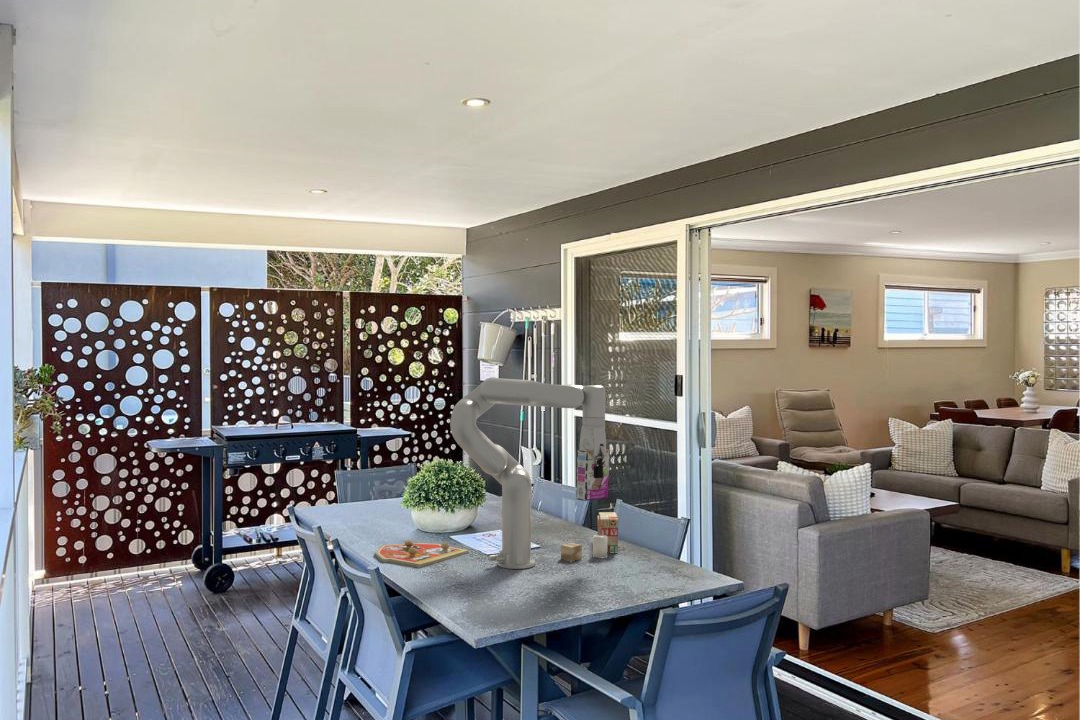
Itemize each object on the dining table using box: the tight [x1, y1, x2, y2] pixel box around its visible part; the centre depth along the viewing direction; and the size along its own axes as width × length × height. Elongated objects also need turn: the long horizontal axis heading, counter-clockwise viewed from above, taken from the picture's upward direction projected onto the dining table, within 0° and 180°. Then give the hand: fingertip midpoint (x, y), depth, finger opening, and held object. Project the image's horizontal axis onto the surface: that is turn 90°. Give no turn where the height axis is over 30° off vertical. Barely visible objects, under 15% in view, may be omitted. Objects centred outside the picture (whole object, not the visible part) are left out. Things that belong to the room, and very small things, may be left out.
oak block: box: [560, 542, 583, 562], centre depth 292 cm, size 5×5×5 cm
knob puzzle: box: [375, 539, 470, 569], centre depth 299 cm, size 29×30×4 cm
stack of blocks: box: [596, 511, 619, 553], centre depth 312 cm, size 21×6×12 cm, turn 179°
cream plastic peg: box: [592, 534, 608, 558], centre depth 297 cm, size 5×5×7 cm
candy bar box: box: [575, 448, 611, 502], centre depth 285 cm, size 11×5×16 cm, turn 132°
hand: (593, 476), depth 285 cm, fingers closed on candy bar box, 5 cm apart
